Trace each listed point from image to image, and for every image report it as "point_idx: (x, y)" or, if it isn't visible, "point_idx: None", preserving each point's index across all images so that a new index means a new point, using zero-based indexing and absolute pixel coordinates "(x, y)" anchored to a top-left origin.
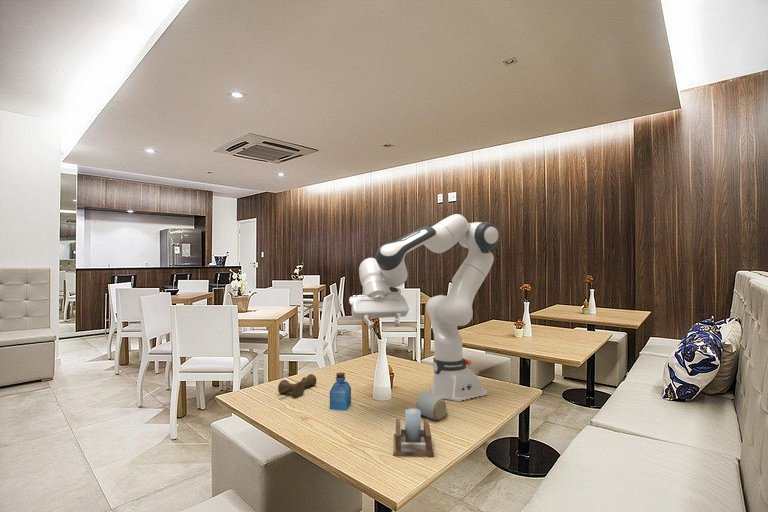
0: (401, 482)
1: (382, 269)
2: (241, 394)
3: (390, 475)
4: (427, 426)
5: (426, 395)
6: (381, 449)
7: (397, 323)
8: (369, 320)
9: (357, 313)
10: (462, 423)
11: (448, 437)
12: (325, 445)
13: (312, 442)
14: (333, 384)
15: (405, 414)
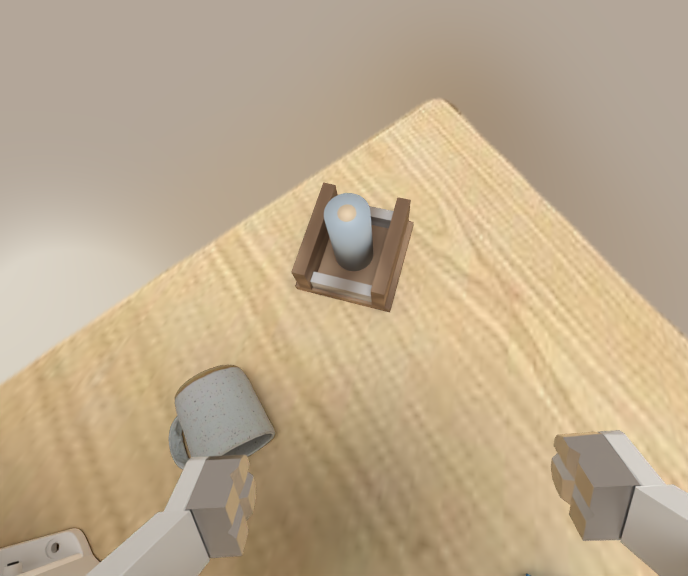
0: (418, 139)
1: None
2: None
3: (434, 161)
4: (311, 231)
5: (224, 421)
6: (435, 258)
7: (222, 456)
8: (655, 498)
9: None
10: (173, 350)
11: (252, 281)
12: (585, 306)
13: (627, 331)
14: None
15: (370, 219)
